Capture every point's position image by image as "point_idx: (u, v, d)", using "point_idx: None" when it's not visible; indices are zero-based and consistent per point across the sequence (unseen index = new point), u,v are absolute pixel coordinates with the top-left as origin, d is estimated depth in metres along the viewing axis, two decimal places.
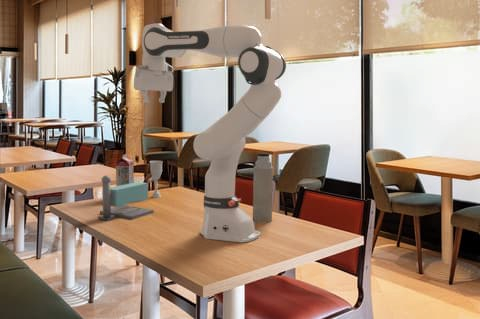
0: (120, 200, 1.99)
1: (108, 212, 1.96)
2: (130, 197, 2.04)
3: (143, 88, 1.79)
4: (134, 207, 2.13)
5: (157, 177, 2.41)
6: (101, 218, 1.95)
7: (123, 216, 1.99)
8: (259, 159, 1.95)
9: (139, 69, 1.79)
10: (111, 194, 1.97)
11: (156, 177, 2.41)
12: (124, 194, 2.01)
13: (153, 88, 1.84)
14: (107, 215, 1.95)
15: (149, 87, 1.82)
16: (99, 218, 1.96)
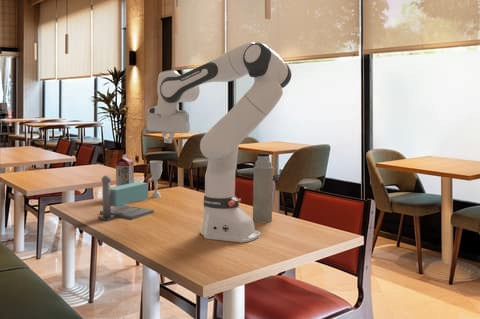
0: (120, 200, 1.99)
1: (108, 212, 1.96)
2: (130, 197, 2.04)
3: None
4: (134, 207, 2.13)
5: (157, 177, 2.41)
6: (101, 218, 1.95)
7: (123, 216, 1.99)
8: (259, 159, 1.95)
9: None
10: (111, 194, 1.97)
11: (156, 177, 2.41)
12: (124, 194, 2.01)
13: None
14: (107, 215, 1.95)
15: None
16: (99, 218, 1.96)
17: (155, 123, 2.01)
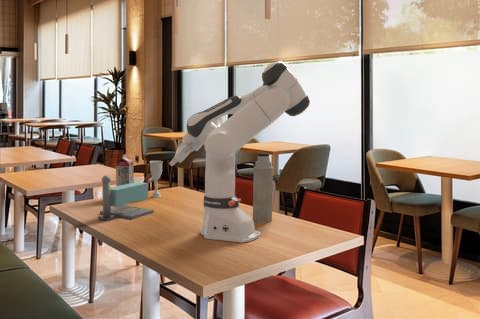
0: (120, 200, 1.99)
1: (108, 212, 1.96)
2: (130, 197, 2.04)
3: None
4: (134, 207, 2.13)
5: (157, 177, 2.41)
6: (101, 218, 1.95)
7: (123, 216, 1.99)
8: (259, 159, 1.95)
9: (190, 148, 2.00)
10: (111, 194, 1.97)
11: (156, 177, 2.41)
12: (124, 194, 2.01)
13: None
14: (107, 215, 1.95)
15: None
16: (99, 218, 1.96)
17: (180, 147, 2.14)
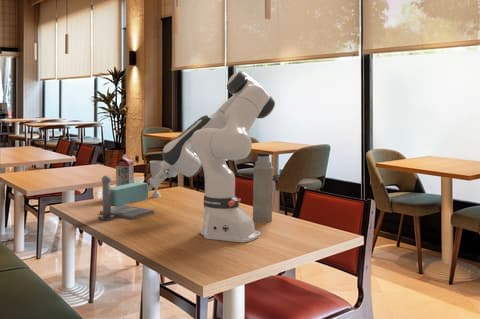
0: (120, 200, 1.99)
1: (108, 212, 1.96)
2: (130, 197, 2.04)
3: None
4: (134, 207, 2.13)
5: None
6: (101, 218, 1.95)
7: (123, 216, 1.99)
8: (259, 159, 1.95)
9: (165, 173, 2.02)
10: (111, 194, 1.97)
11: None
12: (124, 194, 2.01)
13: None
14: (107, 215, 1.95)
15: None
16: (99, 218, 1.96)
17: None
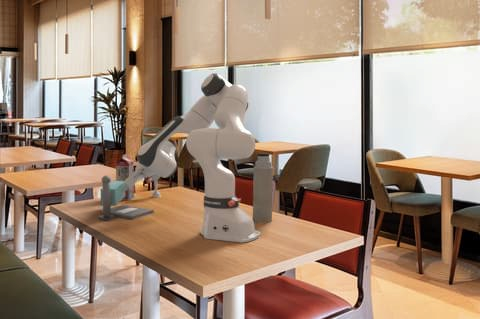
0: (116, 199, 2.01)
1: (109, 212, 1.96)
2: (119, 196, 2.07)
3: None
4: (134, 207, 2.13)
5: (157, 177, 2.41)
6: (101, 218, 1.95)
7: (123, 216, 1.99)
8: (259, 159, 1.95)
9: (139, 173, 2.04)
10: (110, 194, 1.97)
11: (156, 177, 2.41)
12: (117, 193, 2.03)
13: None
14: (109, 215, 1.96)
15: None
16: (99, 218, 1.96)
17: None
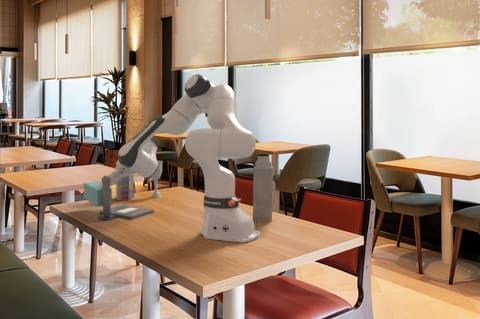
0: None
1: (110, 211, 1.97)
2: None
3: None
4: (134, 207, 2.13)
5: (157, 177, 2.41)
6: (101, 218, 1.95)
7: (123, 216, 1.99)
8: (259, 159, 1.95)
9: (119, 172, 2.01)
10: None
11: (156, 177, 2.41)
12: None
13: (114, 183, 2.09)
14: (110, 214, 1.97)
15: None
16: (99, 218, 1.96)
17: None
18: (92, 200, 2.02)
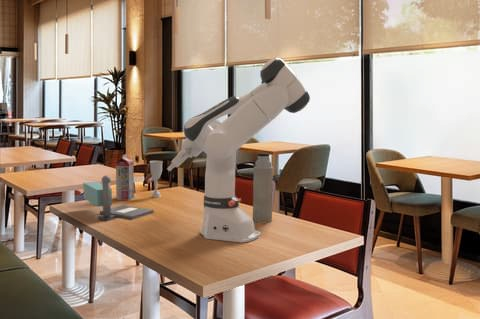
0: None
1: (110, 211, 1.97)
2: None
3: (178, 166, 1.97)
4: (134, 207, 2.13)
5: (157, 177, 2.41)
6: (101, 218, 1.95)
7: (123, 216, 1.99)
8: (259, 159, 1.95)
9: (187, 152, 1.96)
10: None
11: (156, 177, 2.41)
12: None
13: None
14: (110, 214, 1.97)
15: None
16: (99, 218, 1.96)
17: None
18: (92, 200, 2.02)
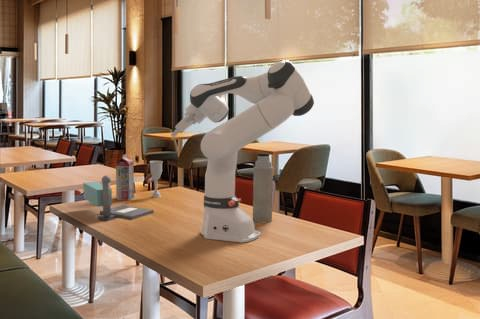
0: None
1: (110, 211, 1.97)
2: None
3: (181, 131, 2.01)
4: (134, 207, 2.13)
5: (157, 177, 2.41)
6: (101, 218, 1.95)
7: (123, 216, 1.99)
8: (259, 159, 1.95)
9: (191, 118, 2.00)
10: None
11: (156, 177, 2.41)
12: None
13: None
14: (110, 214, 1.97)
15: None
16: (99, 218, 1.96)
17: None
18: (92, 200, 2.02)
